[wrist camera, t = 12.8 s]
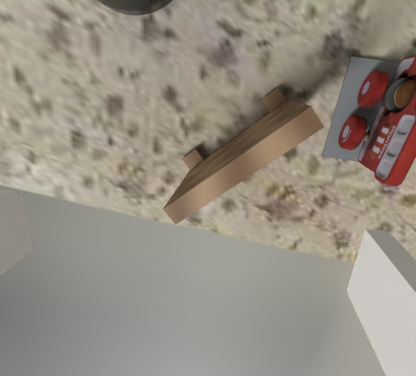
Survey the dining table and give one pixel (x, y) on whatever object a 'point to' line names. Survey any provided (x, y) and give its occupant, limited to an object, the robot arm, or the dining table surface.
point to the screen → (242, 154)
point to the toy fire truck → (386, 124)
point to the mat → (354, 103)
